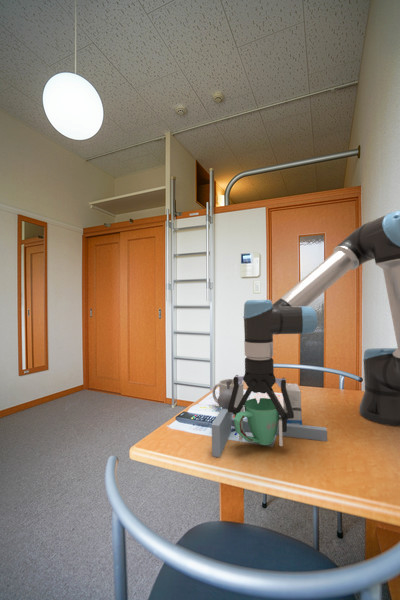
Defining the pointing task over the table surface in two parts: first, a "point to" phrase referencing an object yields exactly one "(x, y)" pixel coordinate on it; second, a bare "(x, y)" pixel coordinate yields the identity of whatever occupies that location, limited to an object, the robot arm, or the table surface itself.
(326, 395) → the table surface
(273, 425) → the mug
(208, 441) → the table surface
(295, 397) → the ink box
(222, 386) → the mug
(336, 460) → the table surface
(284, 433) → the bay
